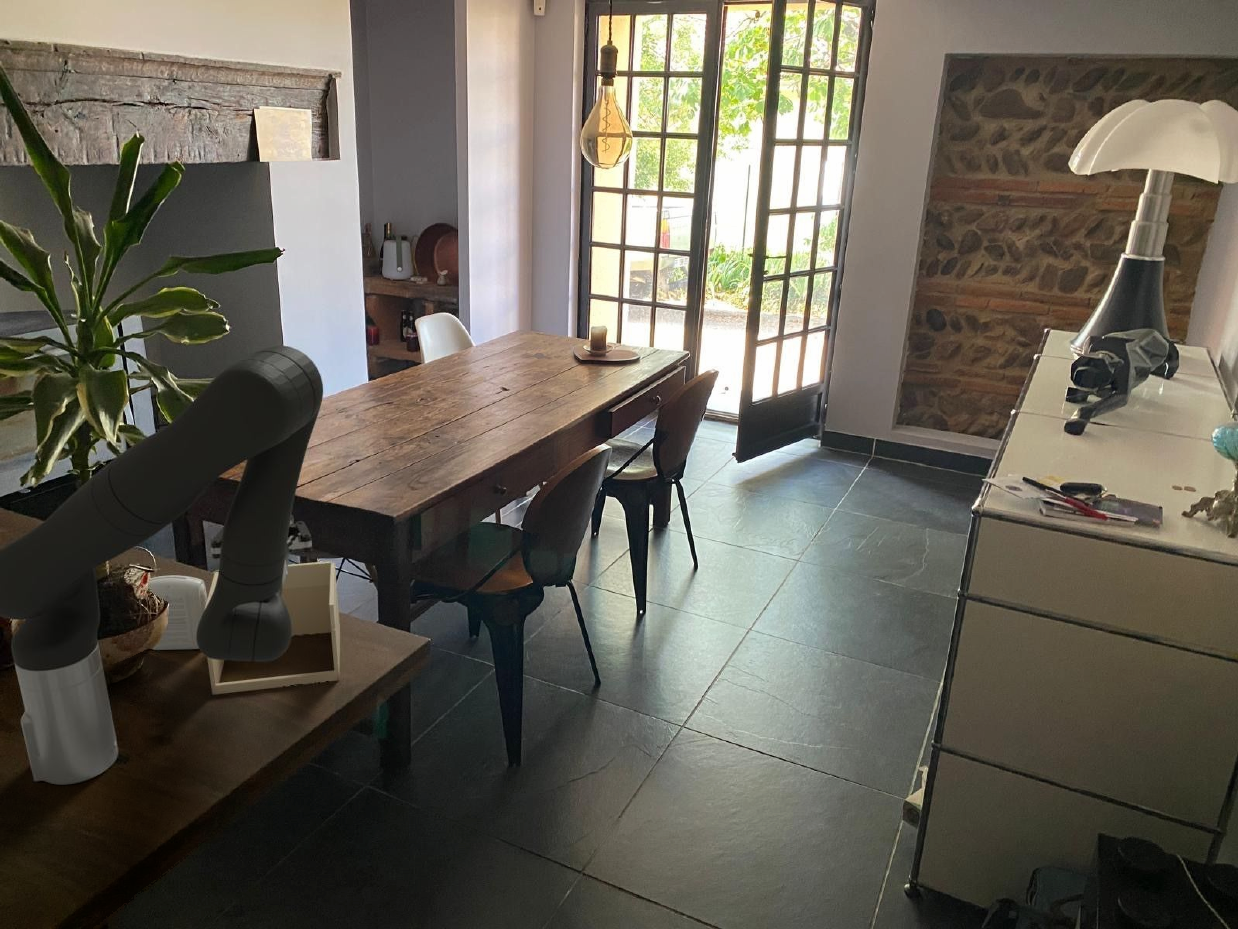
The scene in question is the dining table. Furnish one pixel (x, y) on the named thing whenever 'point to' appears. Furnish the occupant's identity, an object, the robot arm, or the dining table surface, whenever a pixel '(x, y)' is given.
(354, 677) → the dining table surface
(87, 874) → the dining table surface
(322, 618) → the storage bin
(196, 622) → the photo printer
